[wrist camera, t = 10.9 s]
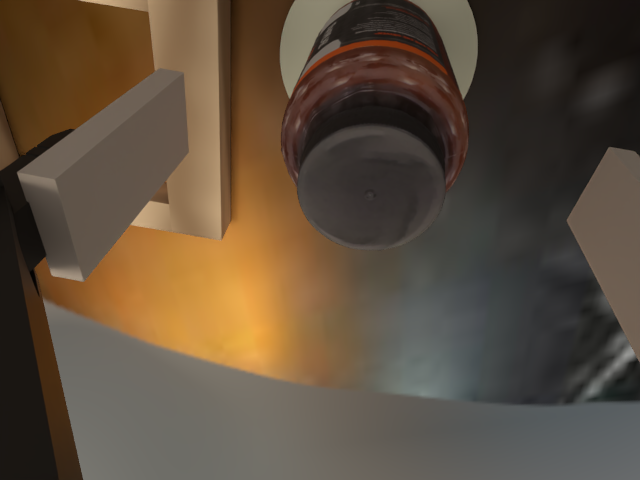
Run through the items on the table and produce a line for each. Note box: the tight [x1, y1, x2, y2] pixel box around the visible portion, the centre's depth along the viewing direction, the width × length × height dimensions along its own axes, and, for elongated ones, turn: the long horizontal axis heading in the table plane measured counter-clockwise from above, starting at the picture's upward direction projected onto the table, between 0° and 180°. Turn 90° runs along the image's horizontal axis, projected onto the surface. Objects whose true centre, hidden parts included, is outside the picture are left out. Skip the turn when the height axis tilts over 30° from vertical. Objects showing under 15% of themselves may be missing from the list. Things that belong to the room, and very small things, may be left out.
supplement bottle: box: [281, 0, 469, 250], centre depth 16 cm, size 6×6×11 cm
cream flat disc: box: [280, 0, 478, 99], centre depth 21 cm, size 9×9×1 cm
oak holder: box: [0, 0, 231, 241], centre depth 23 cm, size 16×14×2 cm
